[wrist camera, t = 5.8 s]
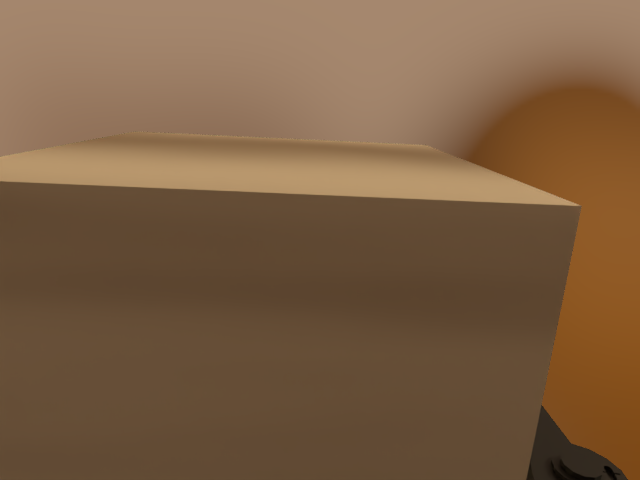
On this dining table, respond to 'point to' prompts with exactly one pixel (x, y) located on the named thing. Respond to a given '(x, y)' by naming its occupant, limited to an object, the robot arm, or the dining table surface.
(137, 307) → the maple block
